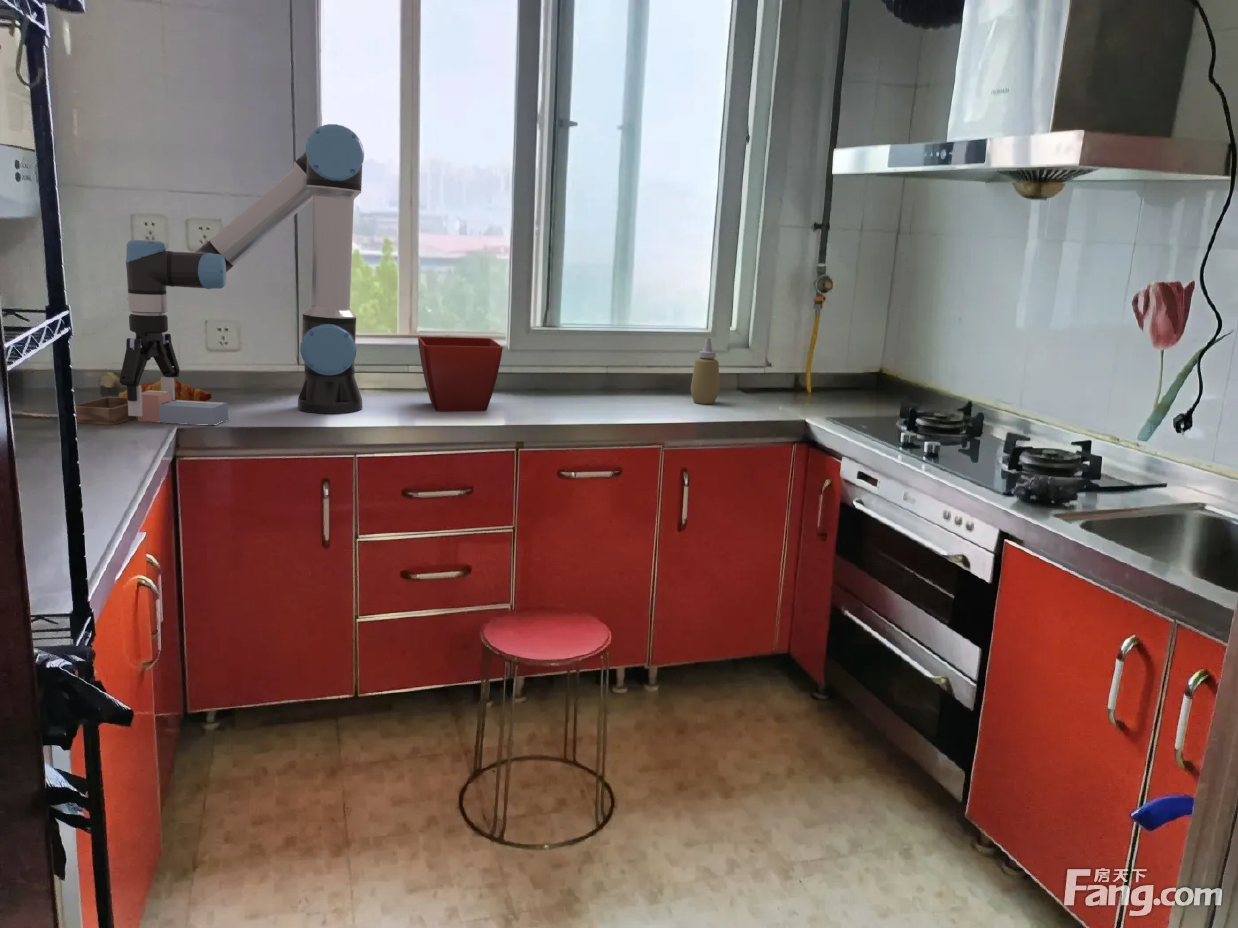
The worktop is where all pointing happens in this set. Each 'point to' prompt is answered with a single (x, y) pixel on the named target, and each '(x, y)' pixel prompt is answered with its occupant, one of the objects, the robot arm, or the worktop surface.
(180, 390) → the croissant
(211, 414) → the grey flat block
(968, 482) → the worktop surface
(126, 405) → the tray
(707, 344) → the squeeze bottle
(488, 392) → the plant pot
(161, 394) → the pink block
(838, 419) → the worktop surface
